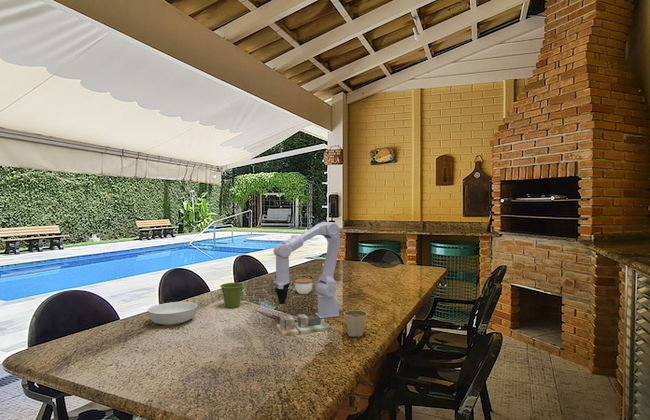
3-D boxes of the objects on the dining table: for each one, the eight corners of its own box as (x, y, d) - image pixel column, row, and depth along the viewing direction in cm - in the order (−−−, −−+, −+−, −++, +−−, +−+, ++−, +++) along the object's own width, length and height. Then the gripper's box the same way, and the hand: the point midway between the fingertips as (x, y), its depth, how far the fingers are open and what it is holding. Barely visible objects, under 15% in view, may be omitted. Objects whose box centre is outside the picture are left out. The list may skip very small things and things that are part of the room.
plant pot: (215, 308, 192) (215, 286, 192) (229, 302, 203) (229, 281, 203) (235, 310, 188) (234, 288, 187) (248, 304, 199) (248, 283, 198)
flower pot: (369, 332, 155) (369, 311, 155) (364, 339, 146) (364, 317, 146) (347, 329, 158) (347, 309, 158) (341, 337, 149) (340, 315, 149)
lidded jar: (292, 292, 226) (291, 276, 226) (308, 290, 231) (308, 275, 231) (298, 296, 216) (298, 279, 216) (315, 294, 221) (315, 278, 221)
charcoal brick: (318, 321, 164) (318, 315, 164) (320, 323, 161) (320, 317, 161) (298, 324, 160) (298, 318, 160) (300, 326, 158) (300, 320, 158)
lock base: (321, 321, 169) (321, 309, 169) (331, 329, 158) (331, 317, 158) (276, 327, 162) (276, 314, 162) (283, 336, 150) (283, 323, 150)
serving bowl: (207, 318, 176) (207, 303, 176) (172, 332, 157) (171, 315, 157) (174, 313, 184) (174, 299, 184) (137, 326, 165) (136, 310, 165)
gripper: (275, 268, 174) (276, 297, 174) (271, 274, 160) (271, 306, 160) (291, 268, 174) (291, 297, 174) (287, 274, 160) (288, 306, 160)
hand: (283, 301), depth 167 cm, fingers open, 7 cm apart
